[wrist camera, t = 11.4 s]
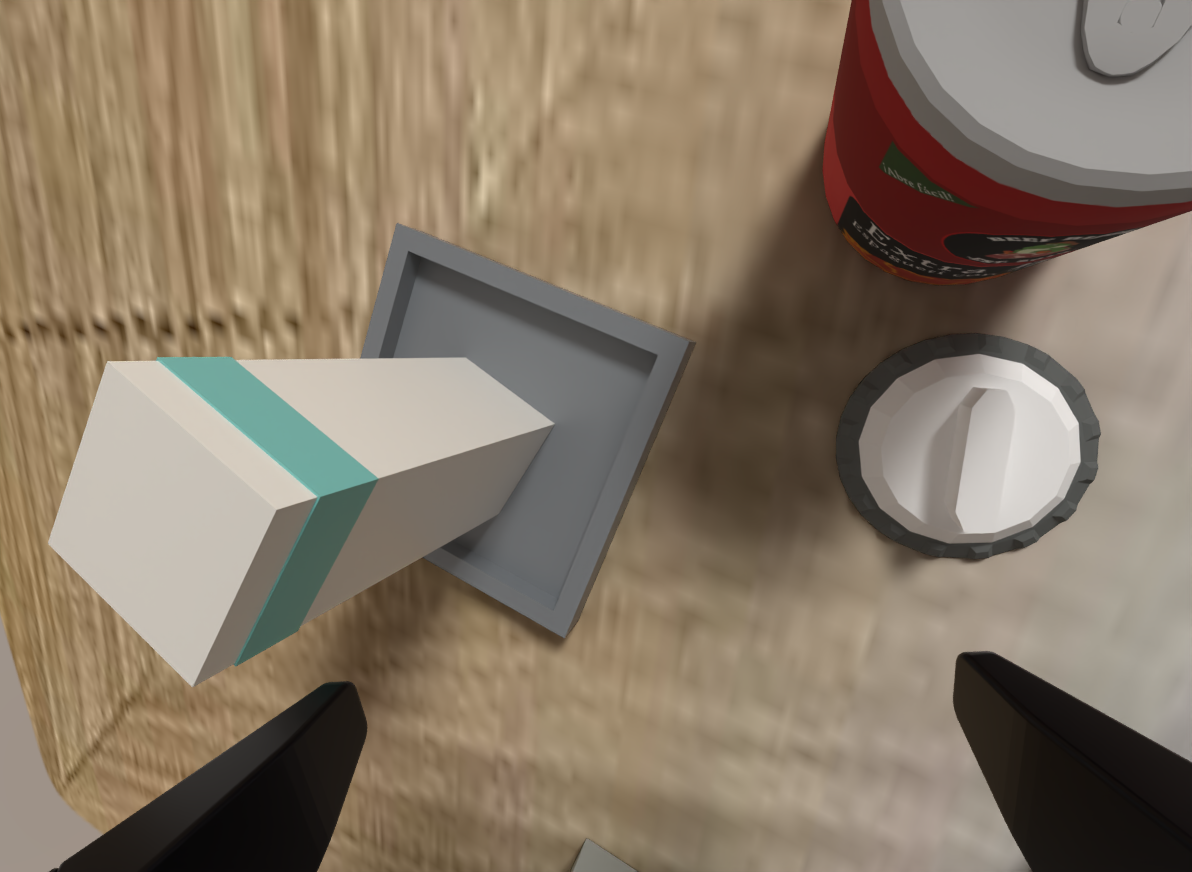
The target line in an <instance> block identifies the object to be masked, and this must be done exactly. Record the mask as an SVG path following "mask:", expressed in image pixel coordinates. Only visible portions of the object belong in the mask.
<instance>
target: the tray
mask: <svg viewBox="0 0 1192 872" xmlns="http://www.w3.org/2000/svg"><path fill="white" fill-rule="evenodd" d="M695 344H696V342H694V341H691V340H689V339H687V338H684V337H682V336H679V335H677V334H674V333H672V332H669V331H667V330H664V329H662V328H659V327H657V326H654V325H652V324H649V323H647V322H644V321H642V320H640V319H637V318H635V317H632V316H630V315H627V314H625V313H622V312H620V311H617V310H615V309H612V308H610V307H607V306H605V305H602V304H600V303H597V302H595V301H593V300H590V299H588V298H585V297H583V296H580V295H578V294H575V293H573V292H570V291H568V290H565V289H563V288H560V287H558V286H555V285H553V284H550V283H548V282H545V281H543V280H541V279H538V278H536V277H533V276H531V275H528V274H526V273H523V272H521V271H518V270H516V269H513V268H511V267H508V266H506V265H503V264H501V263H498V262H496V261H494V260H491V259H489V258H486V257H484V256H481V255H479V254H476V253H474V252H471V251H469V250H466V249H464V248H461V247H459V246H456V245H454V244H451V243H449V242H447V241H444V240H442V239H439V238H437V237H434V236H432V235H429V234H427V233H424V232H422V231H419V230H416V229H413V228H410V227H407V226H404V225H401V224H398V223H397V224H396V228H395V232H394V235H393V239H392V243H391V246H390V250H389V254H388V258H387V261H386V265H385V269H384V272H383V276H382V280H381V284H380V287H379V291H378V295H377V299H376V302H375V306H374V310H373V313H372V317H371V321H370V325H369V328H368V332H367V336H366V339H365V343H364V347H363V351H362V354H361V358H360V359H377V358H467V359H468V360H470V361H471V362H472V363H474V364H475V365H476V366H478V367H479V368H480V369H482V370H483V371H485V372H486V373H487V374H489V375H490V376H491V377H493V378H494V379H495V380H497V381H498V382H499V383H501V384H502V385H503V386H505V387H506V388H507V389H509V390H510V391H511V392H513V393H514V394H515V395H517V396H518V397H519V398H521V399H522V400H523V401H525V402H526V403H527V404H529V405H530V406H532V407H533V408H534V409H536V410H537V411H538V412H540V413H541V414H542V415H544V416H545V417H546V418H548V419H549V420H550V421H552V422H553V423H554V424H555V425H554V426H553V428H552V429H551V431H550V433H549V434H548V436H547V437H546V439H545V441H544V442H543V444H542V445H541V447H540V449H539V450H538V452H537V453H536V455H535V457H534V458H533V460H532V461H531V463H530V465H529V466H528V468H527V469H526V471H525V473H524V474H523V476H522V477H521V479H520V481H519V482H518V484H517V485H516V487H515V489H514V490H513V492H512V493H511V495H510V497H509V498H508V500H507V501H506V503H505V505H504V506H503V508H502V509H501V511H500V513H499V514H498V515H496V516H494V517H493V518H491V519H489V520H487V521H486V522H484V523H482V524H480V525H479V526H477V527H475V528H473V529H471V530H470V531H468V532H466V533H464V534H463V535H461V536H459V537H457V538H456V539H454V540H452V541H450V542H448V543H447V544H445V545H443V546H441V547H440V548H438V549H436V550H434V551H433V552H431V553H429V554H427V555H426V556H424V557H422V558H424V559H426V560H428V561H429V562H431V563H433V564H435V565H436V566H438V567H440V568H442V569H443V570H445V571H447V572H449V573H451V574H452V575H454V576H456V577H458V578H459V579H461V580H463V581H465V582H466V583H468V584H470V585H472V586H473V587H475V588H477V589H479V590H480V591H482V592H484V593H486V594H487V595H489V596H491V597H493V598H494V599H496V600H498V601H500V602H501V603H503V604H505V605H507V606H509V607H510V608H512V609H514V610H516V611H517V612H519V613H521V614H523V615H524V616H526V617H528V618H530V619H531V620H533V621H535V622H537V623H538V624H540V625H542V626H544V627H545V628H547V629H549V630H551V631H552V632H554V633H556V634H558V635H559V636H561V637H563V638H565V637H566V636H567V635H568V633H569V632H570V631H571V629H572V628H573V627H574V625H575V624H576V623H577V621H578V620H579V617H580V615H581V613H582V610H583V608H584V605H585V603H586V601H587V598H588V596H589V594H590V591H591V589H592V587H593V584H594V582H595V579H596V577H597V575H598V572H599V570H600V568H601V565H602V563H603V561H604V558H605V556H606V554H607V551H608V549H609V546H610V544H611V542H612V539H613V537H614V535H615V532H616V530H617V528H618V525H619V523H620V521H621V518H622V516H623V513H624V511H625V509H626V506H627V504H628V502H629V499H630V497H631V495H632V492H633V490H634V487H635V485H636V483H637V480H638V478H639V476H640V473H641V471H642V469H643V466H644V464H645V462H646V459H647V457H648V454H649V452H650V450H651V447H652V445H653V443H654V440H655V438H656V436H657V433H658V431H659V429H660V426H661V424H662V421H663V419H664V417H665V414H666V412H667V410H668V407H669V405H670V403H671V400H672V398H673V395H674V393H675V391H676V388H677V386H678V384H679V381H680V379H681V377H682V374H683V372H684V370H685V367H686V365H687V362H688V360H689V358H690V355H691V353H692V351H693V348H694V346H695Z"/></svg>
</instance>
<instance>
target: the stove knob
mask: <svg viewBox="0 0 1192 872" xmlns="http://www.w3.org/2000/svg"><path fill="white" fill-rule="evenodd" d="M1100 435H1101V432H1100V427H1099V421H1098V419H1097V418H1096V416H1095V414H1094V412H1093V410H1092V407H1091V405H1090V403H1089V401H1088V398H1087V396H1086V394H1085V389H1084V388H1083V387H1082V385H1081V384H1080V383H1079V381H1078V380H1077V379H1076V378H1075V377H1074V376H1073V375H1072V374H1070V373H1069V372H1068V371H1067V370H1066V369H1064V368H1063V367H1062V366H1061V365H1060V364H1059V363H1057V362H1056V361H1055V360H1054V359H1053V358H1051V357H1050V356H1049V355H1047V354H1046V353H1044V352H1042V351H1040V350H1038V349H1036V348H1034V347H1032V346H1030V345H1027V344H1024V343H1021V342H1018V341H1015V340H1012V339H1008V338H1005V337H1001V336H993V335H986V334H978V333H973V334H953V335H946V336H942V337H937V338H933V339H928V340H924V341H922V342H919V343H917V344H914V345H912V346H910V347H907V348H905V349H902V350H900V351H899V352H897V353H896V354H894V355H893V356H891V357H889V358H888V359H886V360H885V361H883V362H881V363H880V364H879V365H878V366H877V367H876V368H875V369H874V370H873V371H872V372H870V373H869V374H868V375H867V376H866V377H865V378H864V379H863V380H862V382H861V383H860V384H859V386H858V387H857V388H856V390H855V391H854V393H853V394H852V395H851V397H850V399H849V401H848V403H847V405H846V407H845V409H844V412H843V414H842V416H841V419H840V424H839V428H838V432H837V437H836V460H837V465H838V470H839V474H840V479H841V481H842V483H843V485H844V488H845V490H846V492H847V494H848V497H849V498H850V500H851V501H852V502H853V504H854V505H855V507H856V508H857V509H858V511H859V512H860V514H861V515H862V516H863V517H864V518H865V519H866V520H868V521H869V522H870V523H871V524H872V525H873V526H874V527H875V528H876V529H877V530H879V531H880V532H881V533H883V534H884V535H886V536H887V537H889V538H890V539H892V540H894V541H896V542H898V543H900V544H903V545H905V546H907V547H910V548H912V549H915V550H917V551H920V552H922V553H925V554H928V555H933V556H937V557H958V558H971V559H980V558H989V557H990V556H992V555H996V554H999V553H1003V552H1006V551H1010V550H1014V549H1018V548H1025V547H1027V546H1029V545H1031V544H1033V543H1035V542H1037V541H1038V540H1039V538H1040V537H1042V536H1043V535H1044V534H1046V533H1047V532H1048V531H1050V530H1051V529H1053V528H1054V527H1055V526H1057V525H1058V524H1060V523H1061V522H1064V521H1066V520H1067V519H1068V518H1069V517H1070V516H1071V515H1072V514H1073V513H1074V512H1075V511H1076V508H1077V504H1078V503H1079V501H1080V499H1081V498H1082V496H1083V494H1084V493H1085V491H1086V489H1087V488H1088V486H1089V484H1090V483H1092V482H1093V481H1094V479H1095V476H1096V473H1097V470H1098V464H1097V456H1098V442H1099V437H1100Z"/></svg>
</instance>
